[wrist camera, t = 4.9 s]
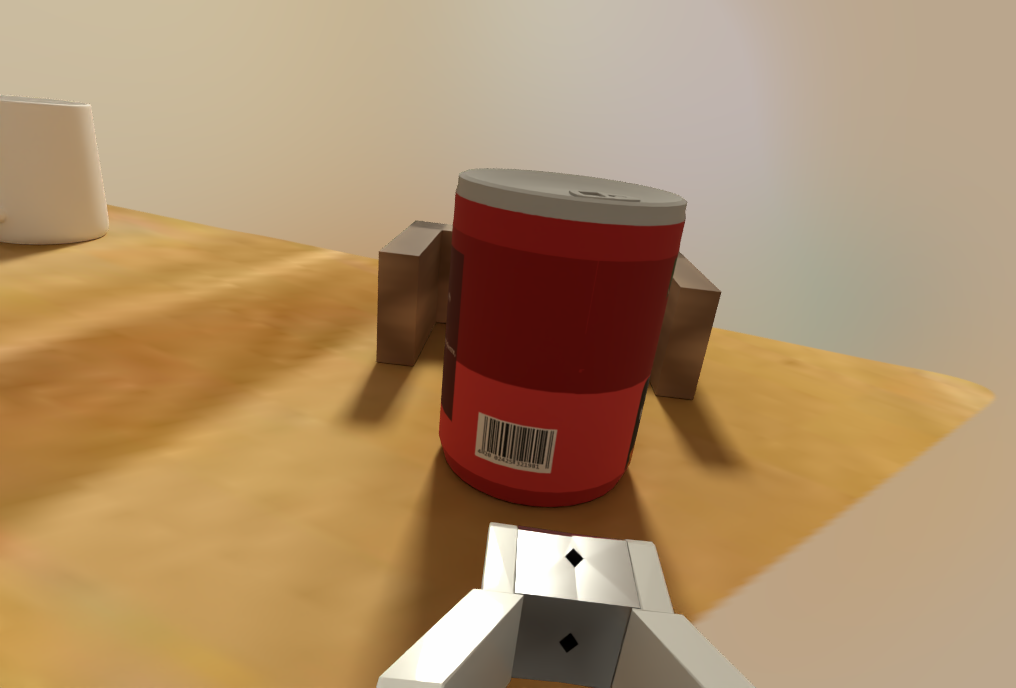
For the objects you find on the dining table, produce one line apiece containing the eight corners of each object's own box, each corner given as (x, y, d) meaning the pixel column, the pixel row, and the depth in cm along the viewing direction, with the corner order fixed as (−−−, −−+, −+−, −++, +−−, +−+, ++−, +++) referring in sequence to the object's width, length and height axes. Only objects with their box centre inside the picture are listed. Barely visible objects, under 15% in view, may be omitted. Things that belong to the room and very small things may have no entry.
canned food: (667, 491, 22) (740, 208, 18) (479, 534, 19) (516, 197, 15) (568, 400, 28) (606, 174, 24) (414, 420, 25) (427, 162, 21)
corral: (376, 361, 30) (378, 251, 28) (411, 308, 39) (415, 220, 36) (693, 399, 30) (721, 291, 28) (659, 338, 38) (679, 251, 36)
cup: (133, 230, 50) (115, 106, 46) (14, 262, 39) (-22, 102, 35) (41, 219, 50) (16, 94, 46) (-103, 247, 39) (-152, 86, 35)
